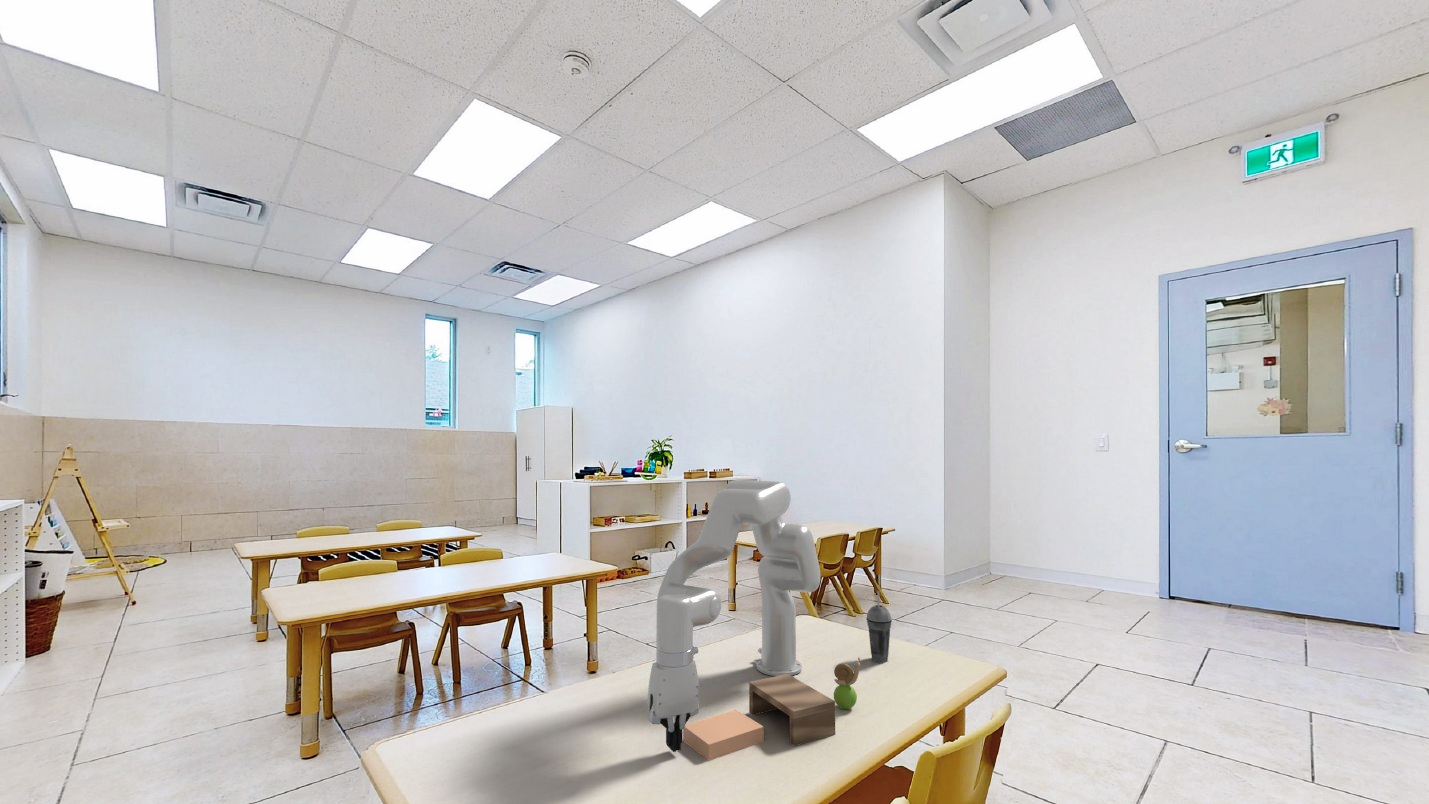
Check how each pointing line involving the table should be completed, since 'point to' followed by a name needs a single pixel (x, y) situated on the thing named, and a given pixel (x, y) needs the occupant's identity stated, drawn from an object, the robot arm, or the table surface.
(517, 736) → the table surface
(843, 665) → the snail figurine
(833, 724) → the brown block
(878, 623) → the beverage cup
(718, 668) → the table surface
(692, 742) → the peach tile
